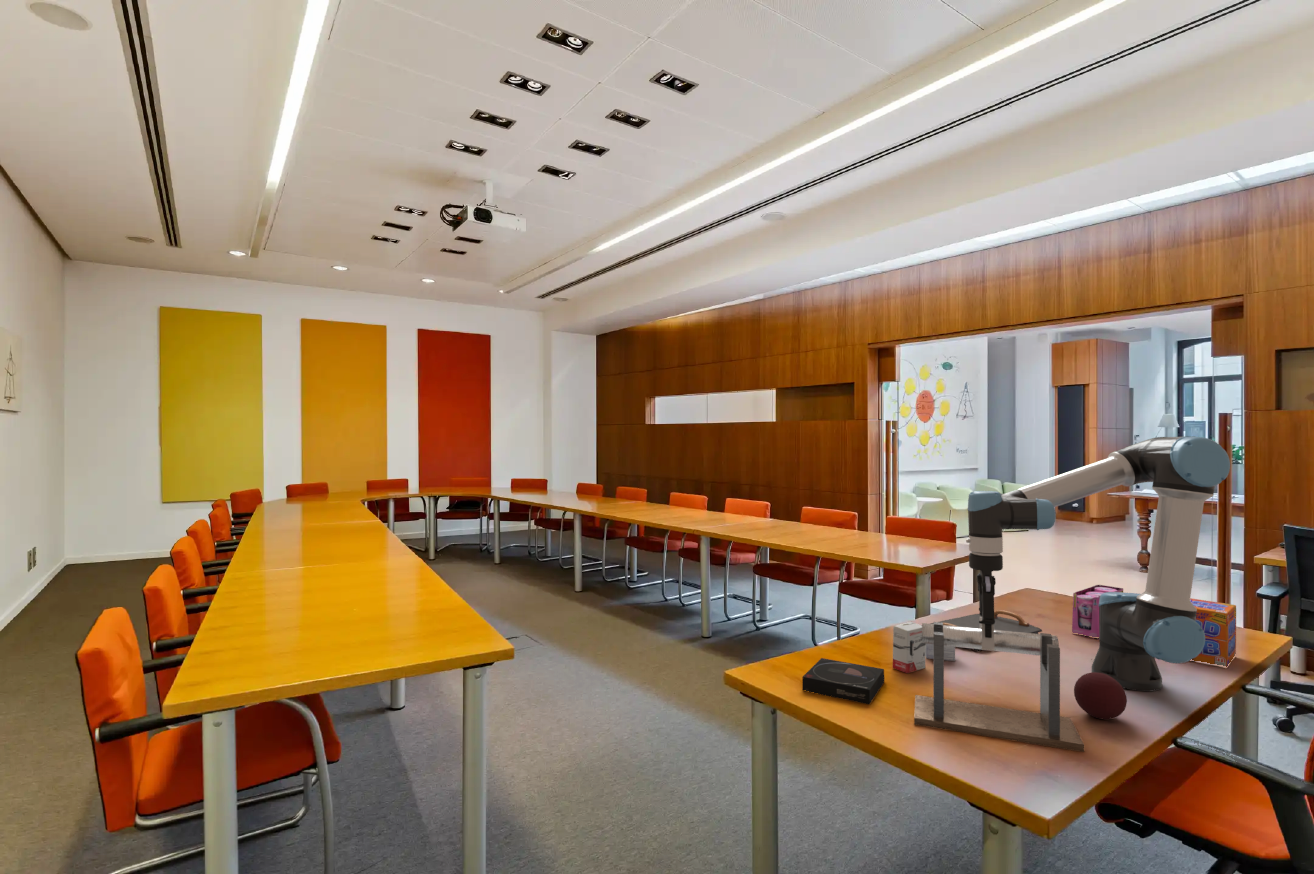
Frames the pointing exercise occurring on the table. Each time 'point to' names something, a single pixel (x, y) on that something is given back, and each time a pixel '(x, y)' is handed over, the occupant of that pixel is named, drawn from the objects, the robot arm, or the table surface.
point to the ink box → (908, 647)
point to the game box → (1216, 631)
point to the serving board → (999, 624)
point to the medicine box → (948, 652)
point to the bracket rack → (998, 720)
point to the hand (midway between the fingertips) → (987, 646)
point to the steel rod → (973, 639)
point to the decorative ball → (1100, 695)
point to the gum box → (1088, 609)
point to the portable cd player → (844, 680)
